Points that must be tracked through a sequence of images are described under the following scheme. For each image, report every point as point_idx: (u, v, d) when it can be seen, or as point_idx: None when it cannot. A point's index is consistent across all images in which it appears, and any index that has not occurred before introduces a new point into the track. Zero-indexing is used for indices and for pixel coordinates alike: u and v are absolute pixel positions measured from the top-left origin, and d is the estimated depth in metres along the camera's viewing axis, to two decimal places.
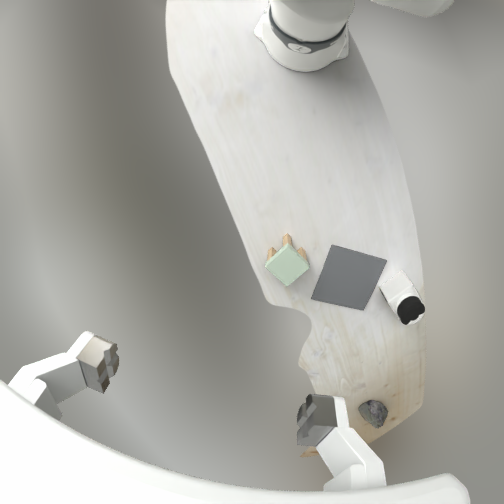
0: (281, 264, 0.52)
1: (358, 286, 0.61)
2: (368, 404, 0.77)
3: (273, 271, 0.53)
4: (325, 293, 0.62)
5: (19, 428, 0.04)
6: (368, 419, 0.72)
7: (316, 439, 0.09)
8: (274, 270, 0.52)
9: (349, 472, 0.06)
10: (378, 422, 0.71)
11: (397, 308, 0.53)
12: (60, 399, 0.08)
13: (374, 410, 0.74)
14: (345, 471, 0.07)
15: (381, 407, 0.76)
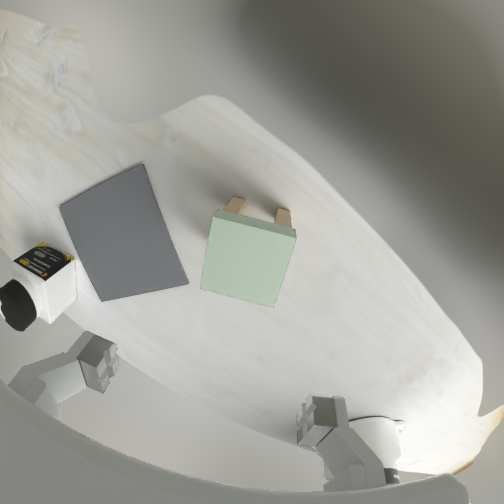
0: (262, 265, 0.20)
1: (96, 241, 0.30)
2: None
3: (269, 238, 0.19)
4: (128, 192, 0.27)
5: (19, 428, 0.04)
6: None
7: (316, 439, 0.09)
8: (270, 243, 0.19)
9: (349, 472, 0.06)
10: None
11: (27, 292, 0.24)
12: (60, 399, 0.08)
13: None
14: (345, 471, 0.07)
15: None
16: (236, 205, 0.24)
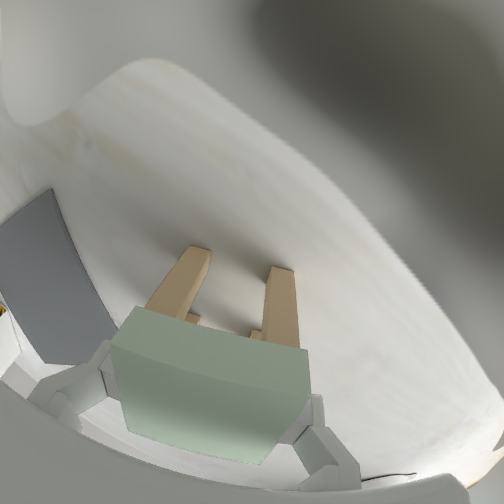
0: (234, 427, 0.08)
1: (20, 295, 0.17)
2: None
3: (246, 395, 0.07)
4: (38, 234, 0.15)
5: (19, 428, 0.04)
6: None
7: (292, 437, 0.09)
8: (248, 402, 0.07)
9: (322, 472, 0.06)
10: None
11: None
12: (80, 410, 0.08)
13: None
14: (318, 471, 0.07)
15: None
16: (186, 274, 0.12)
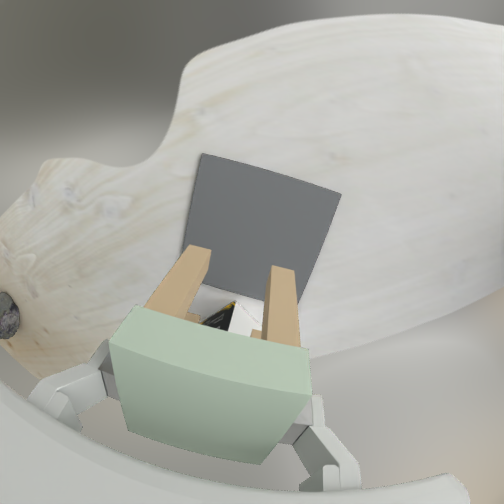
0: (234, 427, 0.08)
1: (237, 259, 0.29)
2: (11, 307, 0.38)
3: (246, 394, 0.07)
4: (217, 185, 0.26)
5: (19, 428, 0.04)
6: None
7: (292, 437, 0.09)
8: (249, 401, 0.07)
9: (322, 472, 0.06)
10: None
11: None
12: (80, 410, 0.08)
13: (5, 321, 0.36)
14: (318, 471, 0.07)
15: (13, 329, 0.39)
16: (186, 273, 0.12)
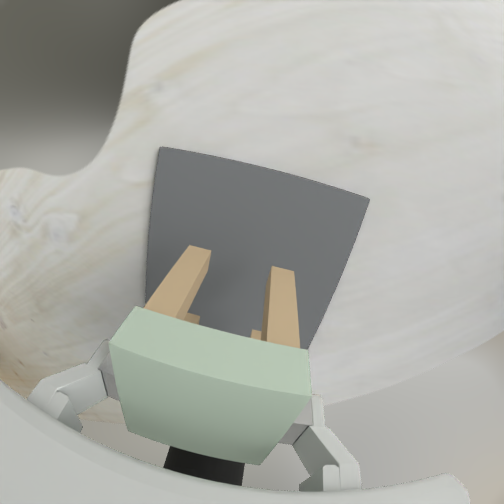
0: (234, 427, 0.08)
1: (220, 296, 0.20)
2: None
3: (246, 395, 0.07)
4: (184, 192, 0.17)
5: (19, 428, 0.04)
6: None
7: (292, 437, 0.09)
8: (248, 402, 0.07)
9: (322, 472, 0.06)
10: None
11: None
12: (80, 410, 0.08)
13: None
14: (318, 471, 0.07)
15: None
16: (186, 273, 0.12)
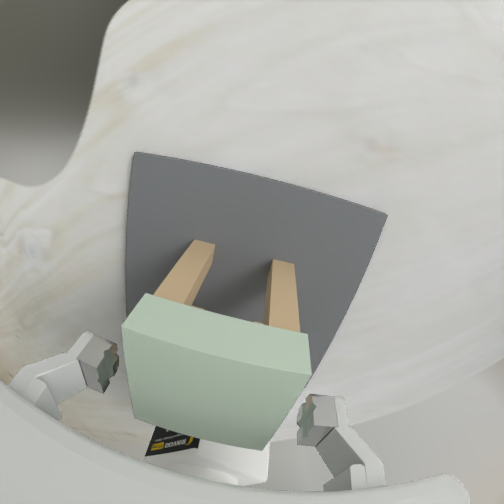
0: (238, 409, 0.09)
1: None
2: None
3: (250, 374, 0.08)
4: (163, 207, 0.14)
5: (19, 428, 0.04)
6: None
7: (316, 439, 0.09)
8: (252, 381, 0.08)
9: (349, 472, 0.06)
10: None
11: None
12: (60, 399, 0.08)
13: None
14: (345, 471, 0.07)
15: None
16: (192, 265, 0.12)
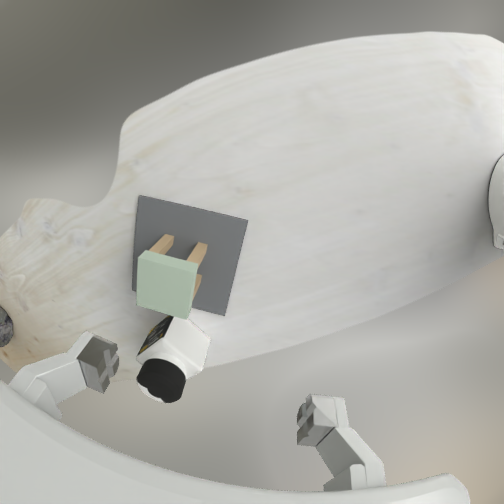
0: (174, 290, 0.27)
1: None
2: (6, 319, 0.43)
3: (175, 272, 0.27)
4: (152, 220, 0.33)
5: (19, 428, 0.04)
6: None
7: (316, 439, 0.09)
8: (176, 275, 0.27)
9: (349, 472, 0.06)
10: None
11: (158, 358, 0.31)
12: (60, 399, 0.08)
13: (1, 331, 0.41)
14: (345, 471, 0.07)
15: (7, 338, 0.43)
16: (163, 243, 0.31)
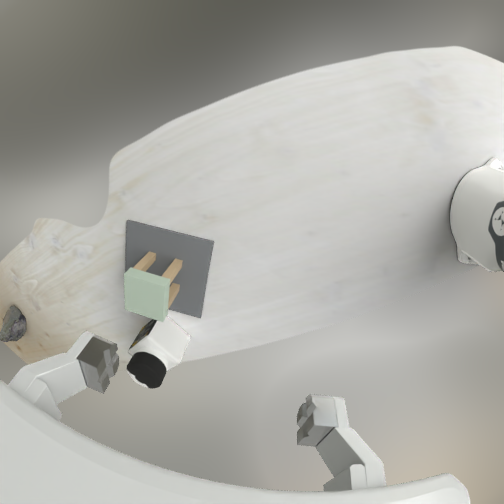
0: (151, 299, 0.34)
1: None
2: (20, 317, 0.52)
3: (151, 286, 0.34)
4: (138, 240, 0.40)
5: (19, 428, 0.04)
6: (4, 326, 0.46)
7: (316, 439, 0.09)
8: (152, 288, 0.34)
9: (349, 472, 0.06)
10: (5, 338, 0.47)
11: (143, 352, 0.38)
12: (60, 399, 0.08)
13: (15, 328, 0.50)
14: (345, 471, 0.07)
15: (21, 334, 0.53)
16: (145, 260, 0.38)
